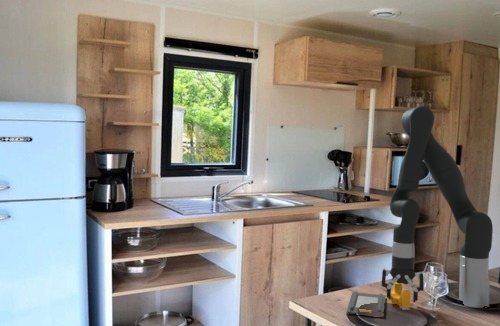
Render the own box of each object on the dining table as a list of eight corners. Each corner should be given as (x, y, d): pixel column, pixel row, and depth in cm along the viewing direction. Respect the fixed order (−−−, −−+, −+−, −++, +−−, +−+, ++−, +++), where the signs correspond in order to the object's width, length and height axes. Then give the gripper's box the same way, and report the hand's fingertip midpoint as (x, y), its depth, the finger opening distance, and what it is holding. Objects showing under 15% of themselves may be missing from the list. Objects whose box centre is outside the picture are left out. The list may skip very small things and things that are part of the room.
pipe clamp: (388, 299, 172) (388, 282, 172) (399, 299, 172) (400, 282, 172) (397, 310, 160) (397, 292, 160) (410, 310, 160) (410, 292, 160)
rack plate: (385, 297, 173) (385, 292, 173) (384, 318, 152) (384, 312, 152) (352, 294, 177) (352, 289, 177) (346, 314, 156) (346, 308, 156)
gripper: (424, 254, 167) (422, 299, 167) (382, 250, 171) (381, 295, 172) (425, 258, 160) (423, 306, 160) (381, 255, 164) (380, 301, 164)
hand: (401, 300), depth 166 cm, fingers open, 8 cm apart
